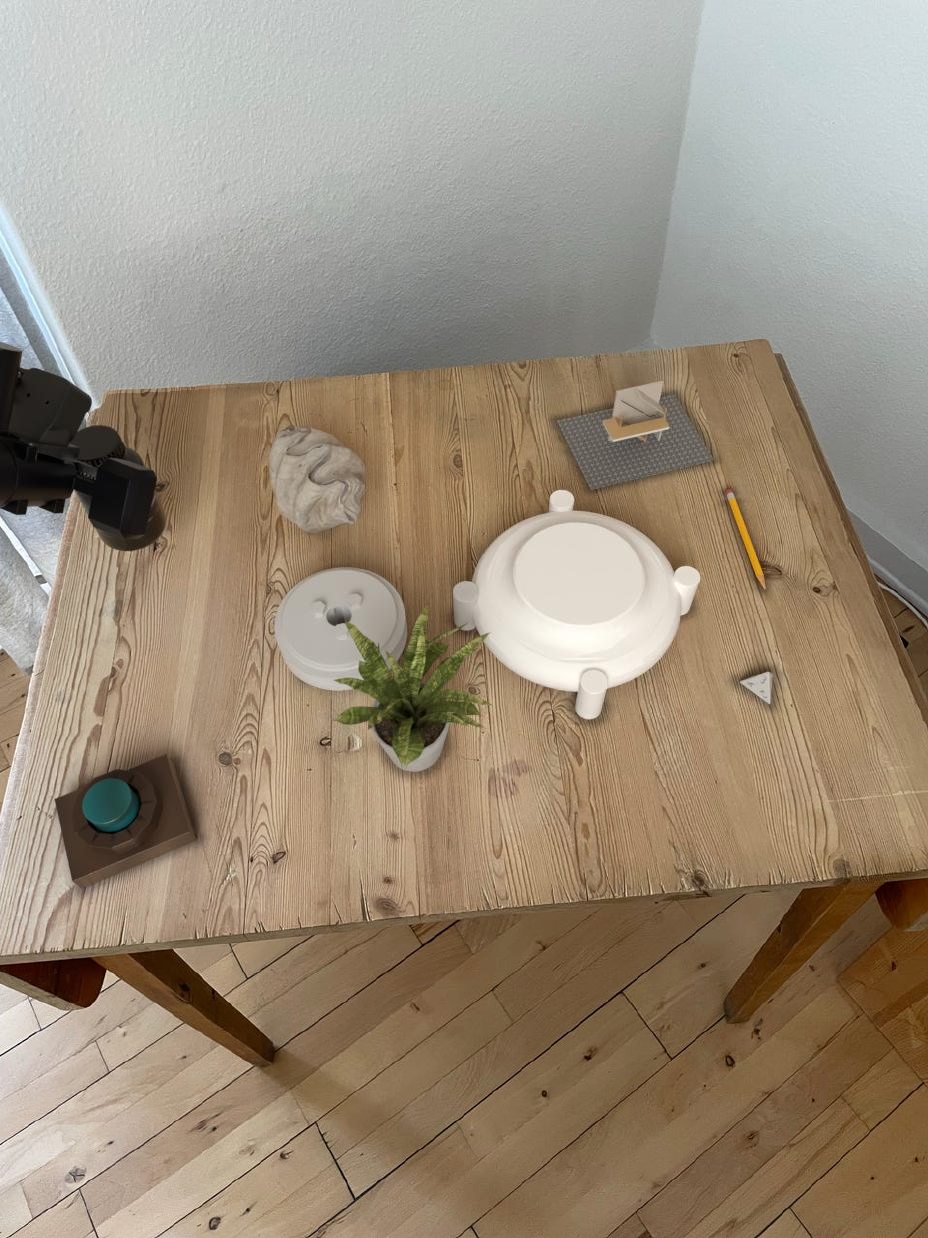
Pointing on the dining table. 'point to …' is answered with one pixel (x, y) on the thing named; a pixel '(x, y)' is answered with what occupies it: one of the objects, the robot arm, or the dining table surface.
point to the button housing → (143, 839)
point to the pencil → (745, 537)
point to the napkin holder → (634, 438)
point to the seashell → (315, 479)
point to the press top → (110, 805)
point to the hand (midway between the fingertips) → (121, 474)
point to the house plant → (411, 696)
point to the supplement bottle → (94, 451)
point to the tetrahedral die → (760, 685)
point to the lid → (338, 624)
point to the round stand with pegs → (575, 601)
